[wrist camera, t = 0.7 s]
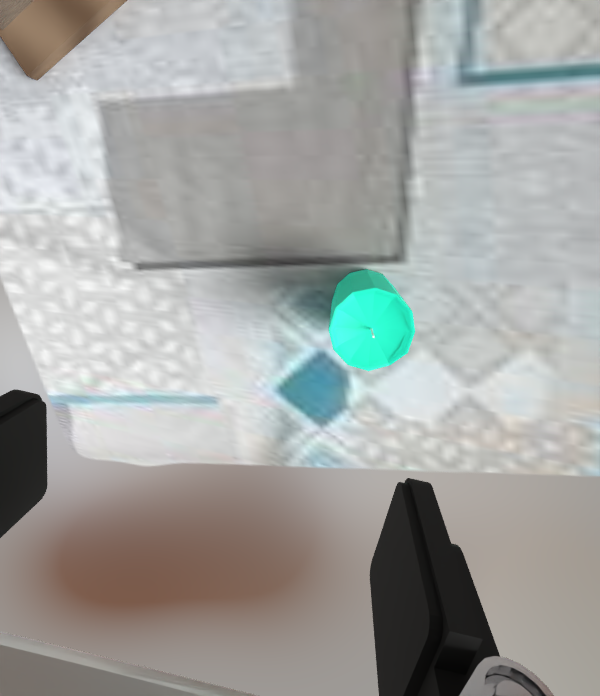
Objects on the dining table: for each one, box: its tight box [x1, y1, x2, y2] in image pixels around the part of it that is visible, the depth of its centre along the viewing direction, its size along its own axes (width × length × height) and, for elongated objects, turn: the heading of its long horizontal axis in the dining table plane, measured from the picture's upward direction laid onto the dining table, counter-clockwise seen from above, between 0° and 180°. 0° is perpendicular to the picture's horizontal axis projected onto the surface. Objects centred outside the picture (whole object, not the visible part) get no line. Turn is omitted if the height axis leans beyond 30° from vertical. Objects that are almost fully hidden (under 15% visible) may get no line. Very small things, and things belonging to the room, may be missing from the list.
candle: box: [329, 269, 415, 371], centre depth 32 cm, size 6×6×12 cm
